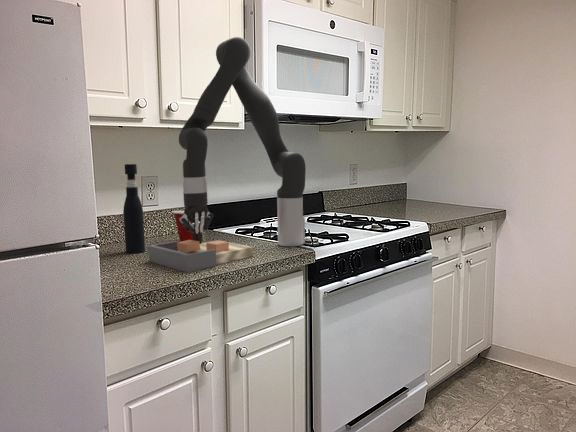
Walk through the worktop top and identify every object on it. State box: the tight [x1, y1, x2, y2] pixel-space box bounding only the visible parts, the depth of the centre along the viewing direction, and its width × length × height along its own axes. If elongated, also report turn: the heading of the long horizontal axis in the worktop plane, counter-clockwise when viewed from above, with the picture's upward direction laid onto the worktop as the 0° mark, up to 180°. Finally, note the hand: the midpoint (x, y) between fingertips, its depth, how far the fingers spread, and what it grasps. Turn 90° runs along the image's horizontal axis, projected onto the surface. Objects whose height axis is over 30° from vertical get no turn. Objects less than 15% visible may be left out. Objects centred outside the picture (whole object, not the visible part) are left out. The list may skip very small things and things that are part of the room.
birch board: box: [179, 239, 254, 265], centre depth 160 cm, size 16×18×3 cm
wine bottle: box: [123, 163, 146, 254], centre depth 166 cm, size 6×6×30 cm
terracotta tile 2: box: [205, 240, 229, 253], centre depth 155 cm, size 5×5×2 cm
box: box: [147, 240, 217, 273], centre depth 150 cm, size 10×21×5 cm, turn 46°
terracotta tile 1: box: [177, 240, 200, 252], centre depth 156 cm, size 5×5×2 cm
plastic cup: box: [172, 210, 193, 242], centre depth 183 cm, size 11×11×12 cm
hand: (197, 243), depth 159 cm, fingers closed
